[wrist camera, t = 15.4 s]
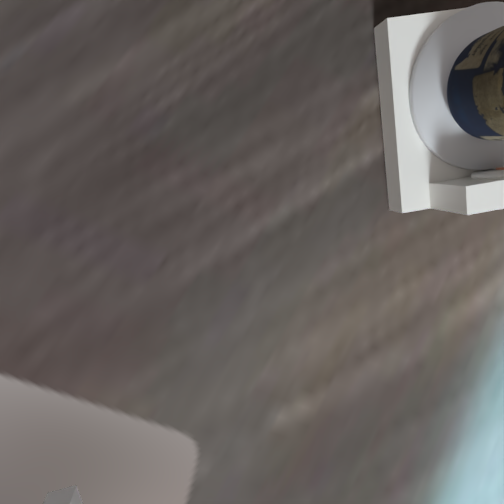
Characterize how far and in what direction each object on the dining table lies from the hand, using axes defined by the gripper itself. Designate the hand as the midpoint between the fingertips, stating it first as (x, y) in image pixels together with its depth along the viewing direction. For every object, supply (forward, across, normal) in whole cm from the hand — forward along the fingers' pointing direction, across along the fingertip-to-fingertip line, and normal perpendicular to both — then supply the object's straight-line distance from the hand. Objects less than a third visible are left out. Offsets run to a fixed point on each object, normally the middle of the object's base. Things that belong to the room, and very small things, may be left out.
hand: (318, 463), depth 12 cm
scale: (+33, +27, +8) cm, 43 cm away
